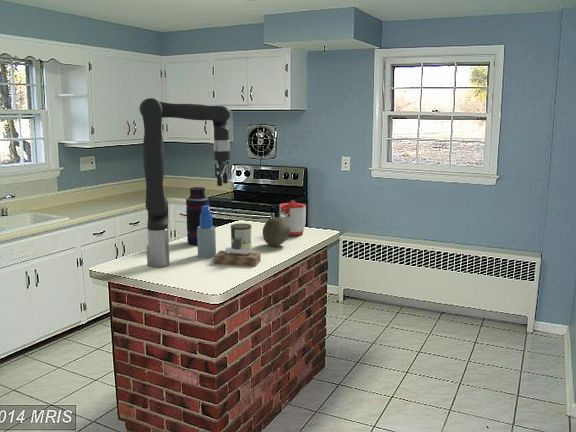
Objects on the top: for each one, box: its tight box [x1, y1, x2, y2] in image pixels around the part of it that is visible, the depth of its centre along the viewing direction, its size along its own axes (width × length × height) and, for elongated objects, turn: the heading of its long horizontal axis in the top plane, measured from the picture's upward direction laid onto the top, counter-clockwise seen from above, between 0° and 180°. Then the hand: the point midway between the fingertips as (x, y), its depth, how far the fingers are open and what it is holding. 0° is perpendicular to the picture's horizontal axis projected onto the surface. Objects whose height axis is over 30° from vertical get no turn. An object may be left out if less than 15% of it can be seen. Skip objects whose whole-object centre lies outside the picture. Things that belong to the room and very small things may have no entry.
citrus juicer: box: [279, 199, 307, 237], centre depth 315 cm, size 16×17×20 cm
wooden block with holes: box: [213, 250, 262, 267], centre depth 258 cm, size 20×9×4 cm, turn 79°
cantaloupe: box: [262, 216, 290, 247], centre depth 289 cm, size 14×14×15 cm
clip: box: [224, 237, 250, 256], centre depth 257 cm, size 11×3×12 cm, turn 79°
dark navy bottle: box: [185, 186, 210, 245], centre depth 293 cm, size 14×12×30 cm
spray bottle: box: [197, 204, 217, 259], centre depth 267 cm, size 9×9×25 cm
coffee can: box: [230, 222, 252, 252], centre depth 274 cm, size 10×10×14 cm
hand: (222, 184), depth 257 cm, fingers open, 8 cm apart
